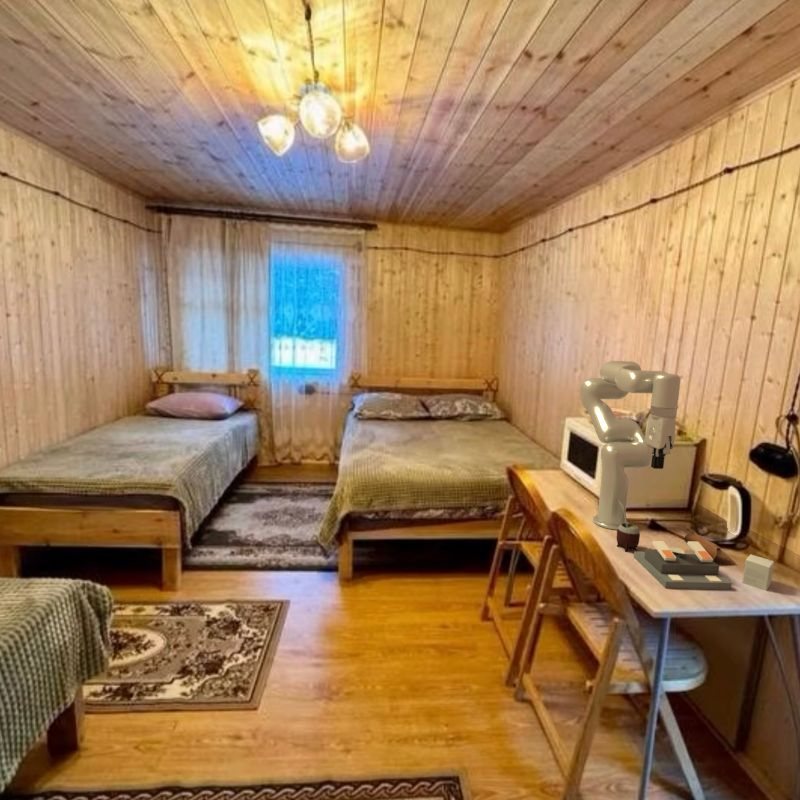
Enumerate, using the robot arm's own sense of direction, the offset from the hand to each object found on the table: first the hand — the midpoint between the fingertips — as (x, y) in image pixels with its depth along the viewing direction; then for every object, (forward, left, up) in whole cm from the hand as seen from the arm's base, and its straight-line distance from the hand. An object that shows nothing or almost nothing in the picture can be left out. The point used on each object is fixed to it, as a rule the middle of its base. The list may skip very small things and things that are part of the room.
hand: (656, 467), depth 161 cm
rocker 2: (+13, +8, -24) cm, 28 cm away
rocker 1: (+13, -3, -24) cm, 27 cm away
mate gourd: (-3, -6, -29) cm, 30 cm away
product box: (+19, +23, -29) cm, 42 cm away
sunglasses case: (-1, +22, -30) cm, 37 cm away
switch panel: (+14, +3, -29) cm, 32 cm away
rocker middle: (+14, +3, -24) cm, 28 cm away
